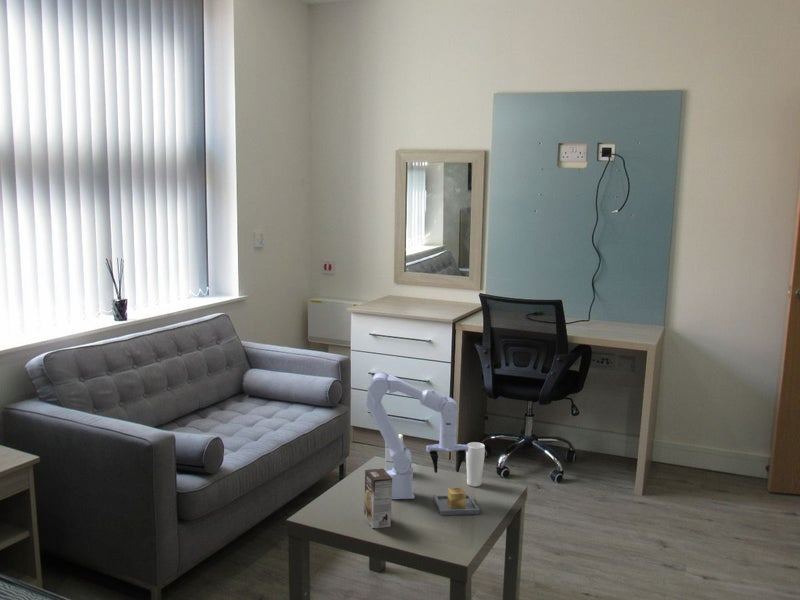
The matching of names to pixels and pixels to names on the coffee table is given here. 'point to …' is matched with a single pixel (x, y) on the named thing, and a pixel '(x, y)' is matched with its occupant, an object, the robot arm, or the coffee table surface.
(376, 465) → the coffee table surface
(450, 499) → the cube
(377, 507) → the coffee box
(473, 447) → the drinking glass
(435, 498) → the tray
